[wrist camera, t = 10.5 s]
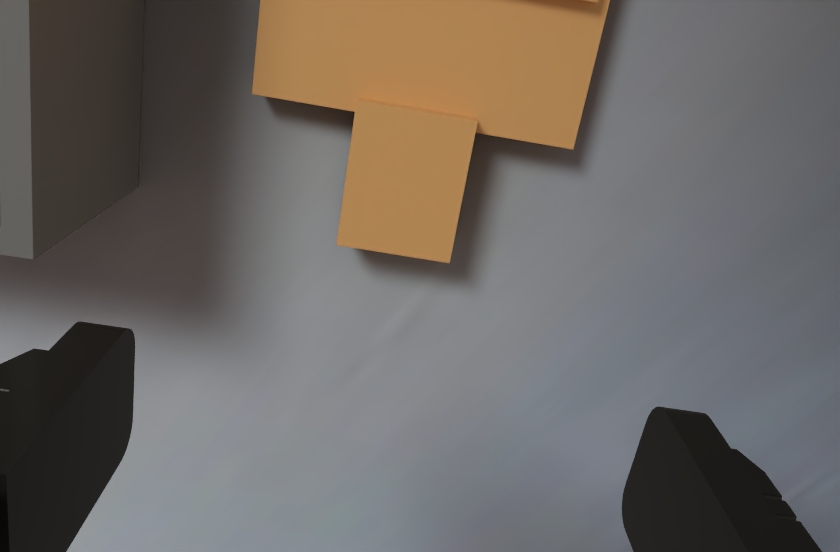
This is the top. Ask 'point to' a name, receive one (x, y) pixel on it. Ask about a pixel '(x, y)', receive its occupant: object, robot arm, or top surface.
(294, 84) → the wooden paddle board
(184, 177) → the top surface
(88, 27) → the tub
